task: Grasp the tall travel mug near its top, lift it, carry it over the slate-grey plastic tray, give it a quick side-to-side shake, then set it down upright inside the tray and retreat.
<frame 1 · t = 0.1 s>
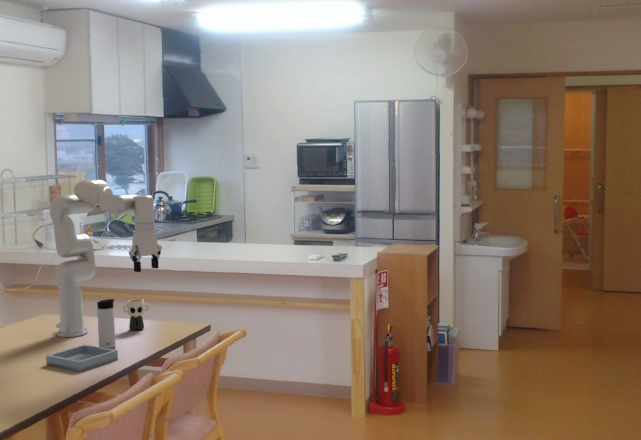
hand: (146, 269, 304), 31 cm above the table, fingers open, 9 cm apart
travel mug: (107, 349, 306), on the table
tray: (82, 362, 287), on the table
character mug: (136, 330, 337), on the table
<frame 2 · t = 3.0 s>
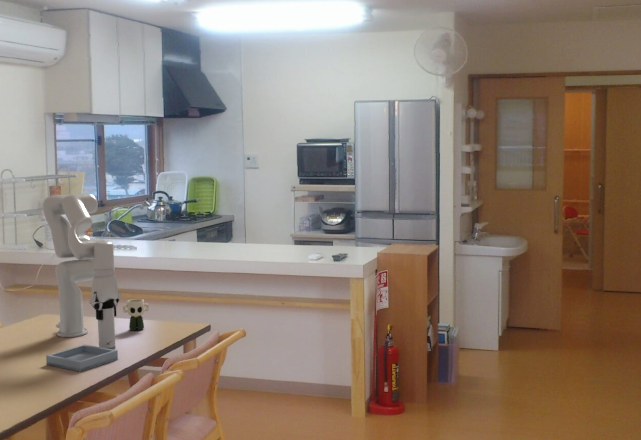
hand: (106, 317, 304), 13 cm above the table, fingers closed on travel mug, 6 cm apart
travel mug: (107, 349, 306), on the table, touching gripper
everything else where it was.
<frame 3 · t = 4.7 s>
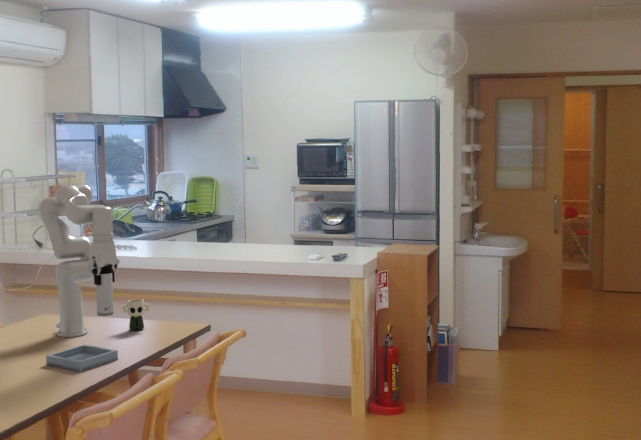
hand: (104, 282, 303), 26 cm above the table, fingers closed on travel mug, 6 cm apart
travel mug: (105, 314, 305), point 14 cm above the table, touching gripper
everything else where it was.
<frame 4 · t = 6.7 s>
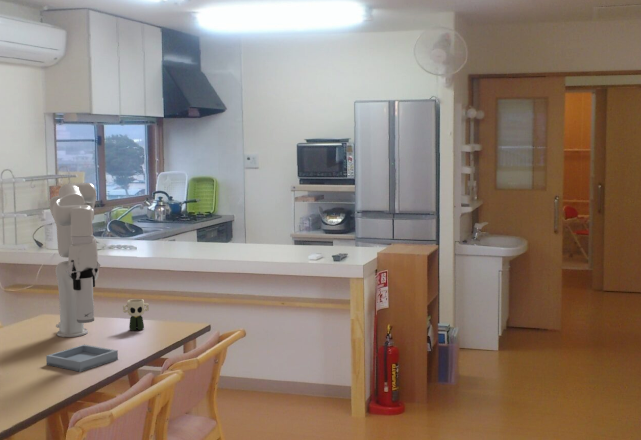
hand: (84, 287, 287), 28 cm above the table, fingers closed on travel mug, 6 cm apart
travel mug: (86, 321, 288), point 15 cm above the table, touching gripper
everything else where it was.
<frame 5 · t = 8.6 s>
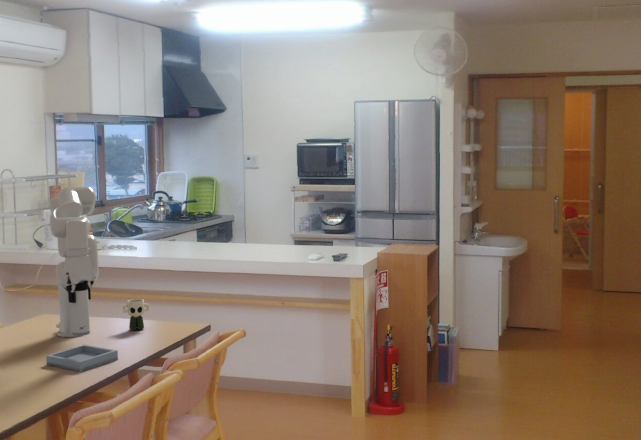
hand: (79, 300, 285), 23 cm above the table, fingers closed on travel mug, 6 cm apart
travel mug: (81, 334, 286), point 11 cm above the table, touching gripper
everything else where it was.
when the fingers open (16 cm above the table, at t = 10.3 s): travel mug drops 2 cm, resting on tray.
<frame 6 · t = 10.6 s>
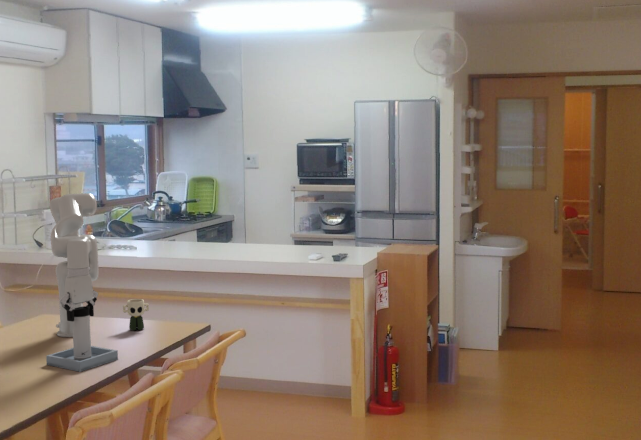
hand: (80, 318, 286), 17 cm above the table, fingers open, 8 cm apart
travel mug: (83, 359, 288), point 1 cm above the table, touching tray
everything else where it was.
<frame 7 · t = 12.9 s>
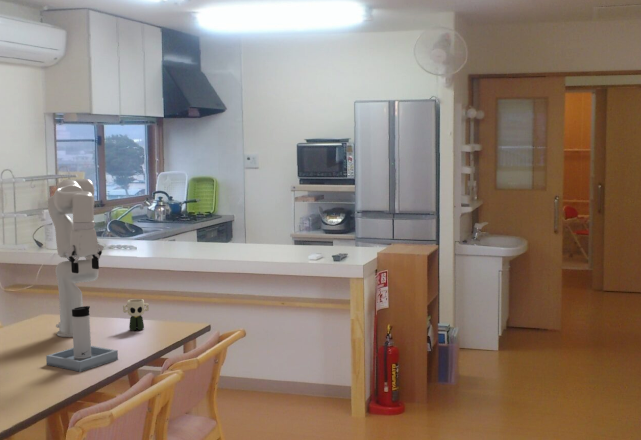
hand: (85, 270, 293), 33 cm above the table, fingers open, 9 cm apart
nothing on the table moved.
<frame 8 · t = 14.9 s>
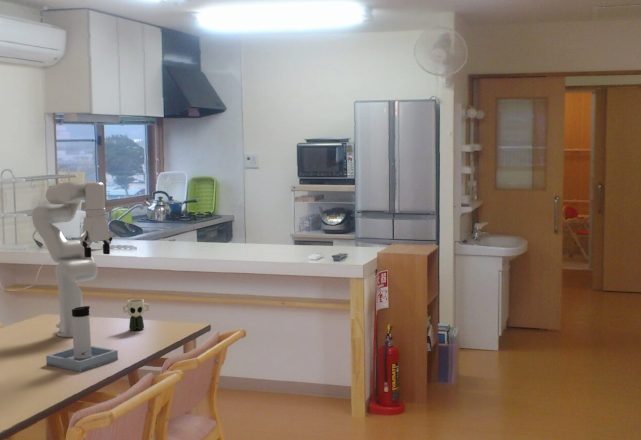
hand: (97, 255, 310), 36 cm above the table, fingers open, 9 cm apart
nothing on the table moved.
at the end: travel mug inside the target area on the tray (0.4 cm from its centre), point 0.8 cm above the tray's base; travel mug tilted 0°; the gripper is holding nothing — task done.
